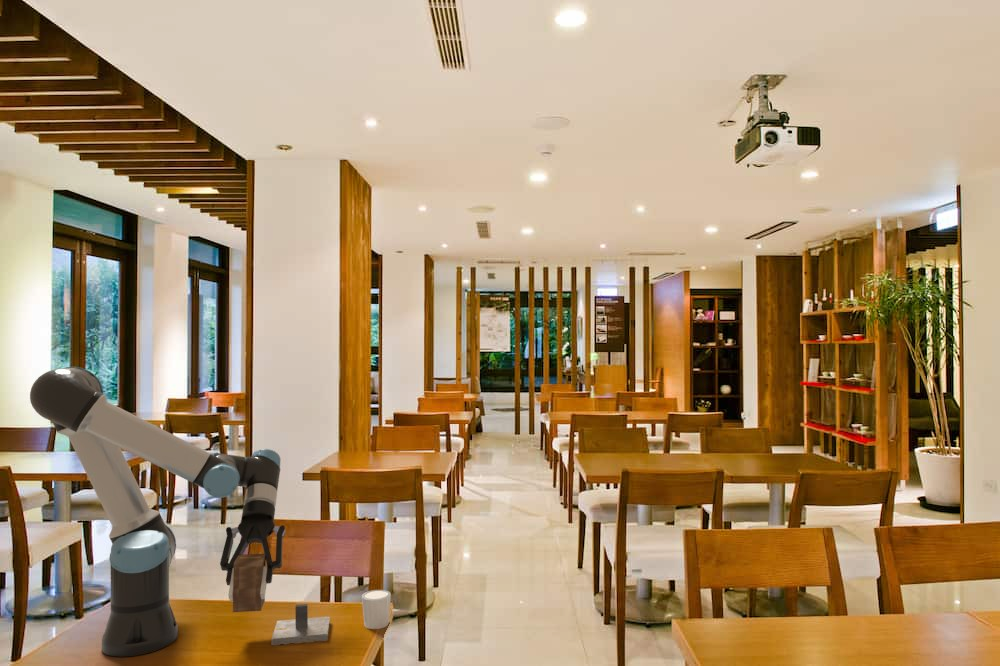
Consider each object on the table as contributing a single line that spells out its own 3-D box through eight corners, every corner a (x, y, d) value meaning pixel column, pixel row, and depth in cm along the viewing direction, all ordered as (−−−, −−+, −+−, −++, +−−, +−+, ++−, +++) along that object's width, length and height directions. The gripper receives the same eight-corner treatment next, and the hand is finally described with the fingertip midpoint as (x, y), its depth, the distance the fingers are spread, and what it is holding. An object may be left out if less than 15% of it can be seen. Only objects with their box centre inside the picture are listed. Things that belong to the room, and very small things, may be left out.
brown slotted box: (232, 612, 153) (233, 561, 154) (237, 602, 159) (238, 553, 159) (260, 610, 154) (261, 560, 155) (264, 601, 160) (265, 552, 161)
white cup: (384, 631, 159) (384, 600, 159) (357, 629, 160) (356, 598, 160) (395, 619, 165) (395, 590, 166) (368, 617, 167) (368, 588, 167)
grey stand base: (271, 645, 152) (271, 616, 152) (277, 627, 161) (277, 599, 162) (327, 640, 154) (327, 611, 154) (329, 622, 164) (329, 595, 164)
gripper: (300, 513, 174) (291, 602, 158) (220, 516, 170) (203, 607, 154) (298, 497, 169) (289, 587, 153) (216, 499, 165) (198, 591, 149)
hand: (246, 597), depth 153 cm, fingers closed on brown slotted box, 6 cm apart
